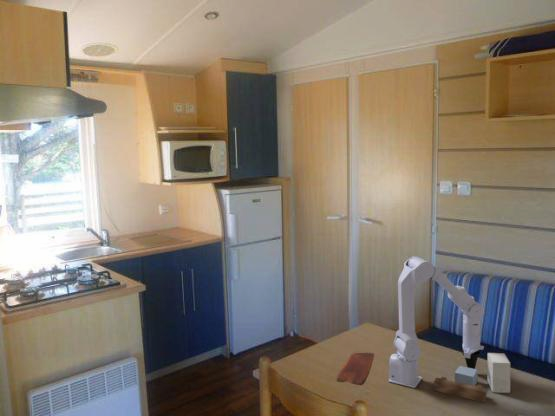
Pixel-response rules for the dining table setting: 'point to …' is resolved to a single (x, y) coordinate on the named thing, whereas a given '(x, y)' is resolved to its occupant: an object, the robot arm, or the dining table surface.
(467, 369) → the block
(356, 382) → the wooden tablet
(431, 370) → the dining table surface
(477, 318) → the robot arm
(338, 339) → the dining table surface
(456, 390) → the rail
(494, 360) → the small box
